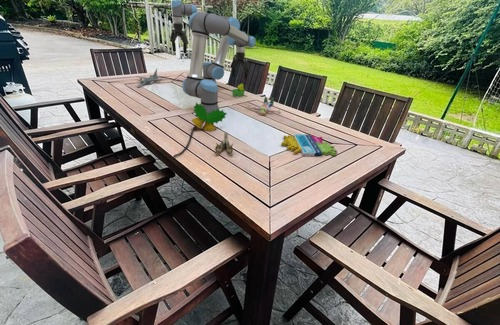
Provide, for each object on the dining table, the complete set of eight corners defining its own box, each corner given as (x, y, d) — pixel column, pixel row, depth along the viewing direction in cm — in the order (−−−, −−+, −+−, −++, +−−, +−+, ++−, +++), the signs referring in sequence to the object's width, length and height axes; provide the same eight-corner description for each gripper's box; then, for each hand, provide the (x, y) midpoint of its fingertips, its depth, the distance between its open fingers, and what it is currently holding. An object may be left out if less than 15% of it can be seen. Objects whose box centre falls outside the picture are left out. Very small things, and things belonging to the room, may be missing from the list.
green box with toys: (239, 93, 243) (239, 81, 238) (246, 95, 239) (247, 83, 233) (231, 95, 235) (231, 83, 229) (238, 97, 231) (239, 84, 225)
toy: (286, 98, 212) (281, 108, 186) (285, 107, 216) (280, 118, 190) (253, 94, 217) (244, 103, 191) (252, 103, 221) (243, 112, 195)
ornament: (218, 133, 171) (224, 110, 169) (221, 134, 163) (227, 111, 161) (186, 125, 162) (192, 101, 160) (189, 126, 155) (195, 101, 153)
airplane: (130, 79, 264) (128, 69, 259) (162, 77, 277) (161, 68, 272) (135, 89, 236) (133, 78, 230) (170, 87, 249) (169, 76, 244)
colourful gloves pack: (340, 153, 140) (285, 152, 138) (339, 156, 141) (285, 155, 138) (325, 134, 163) (277, 133, 160) (324, 137, 163) (277, 136, 161)
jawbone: (234, 135, 144) (233, 125, 135) (233, 160, 138) (232, 151, 129) (217, 135, 144) (216, 125, 135) (216, 160, 138) (214, 150, 129)
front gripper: (226, 50, 223) (226, 76, 233) (249, 54, 210) (248, 81, 220) (232, 49, 228) (231, 75, 238) (255, 53, 215) (253, 79, 226)
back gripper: (163, 22, 209) (166, 50, 219) (184, 24, 196) (186, 54, 207) (171, 22, 214) (173, 50, 225) (192, 24, 202) (193, 53, 212)
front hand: (239, 78), depth 229 cm, fingers open, 13 cm apart
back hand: (179, 52), depth 216 cm, fingers open, 13 cm apart
